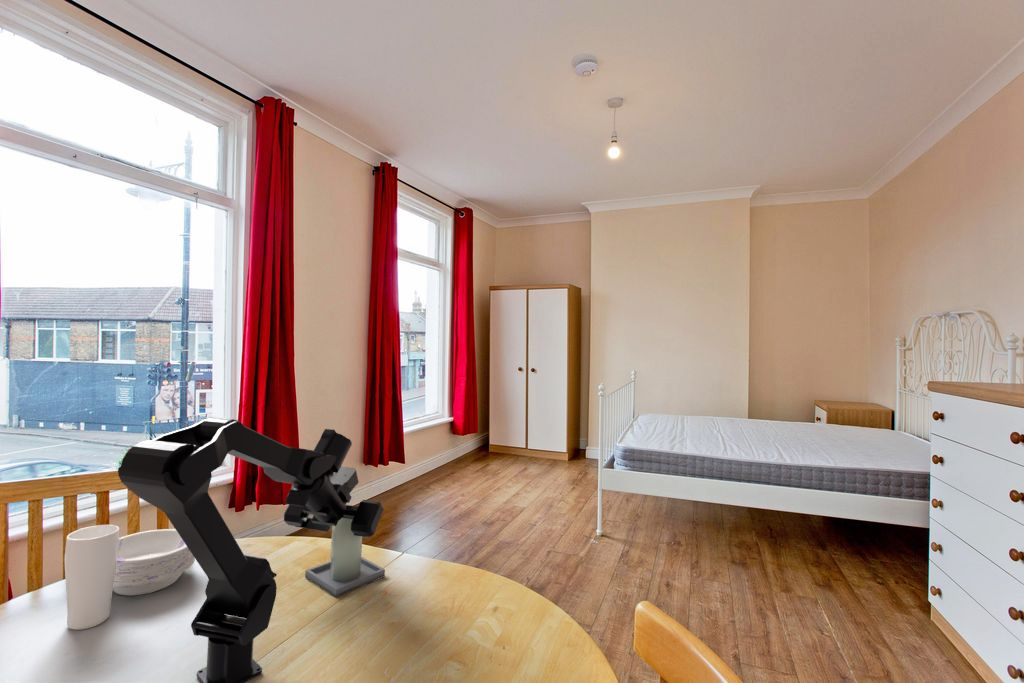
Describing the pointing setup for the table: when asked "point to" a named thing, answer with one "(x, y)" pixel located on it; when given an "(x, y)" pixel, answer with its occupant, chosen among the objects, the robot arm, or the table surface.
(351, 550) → the domed cap cylinder
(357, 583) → the tray
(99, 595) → the white vase
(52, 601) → the table surface
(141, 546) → the paper bowls
